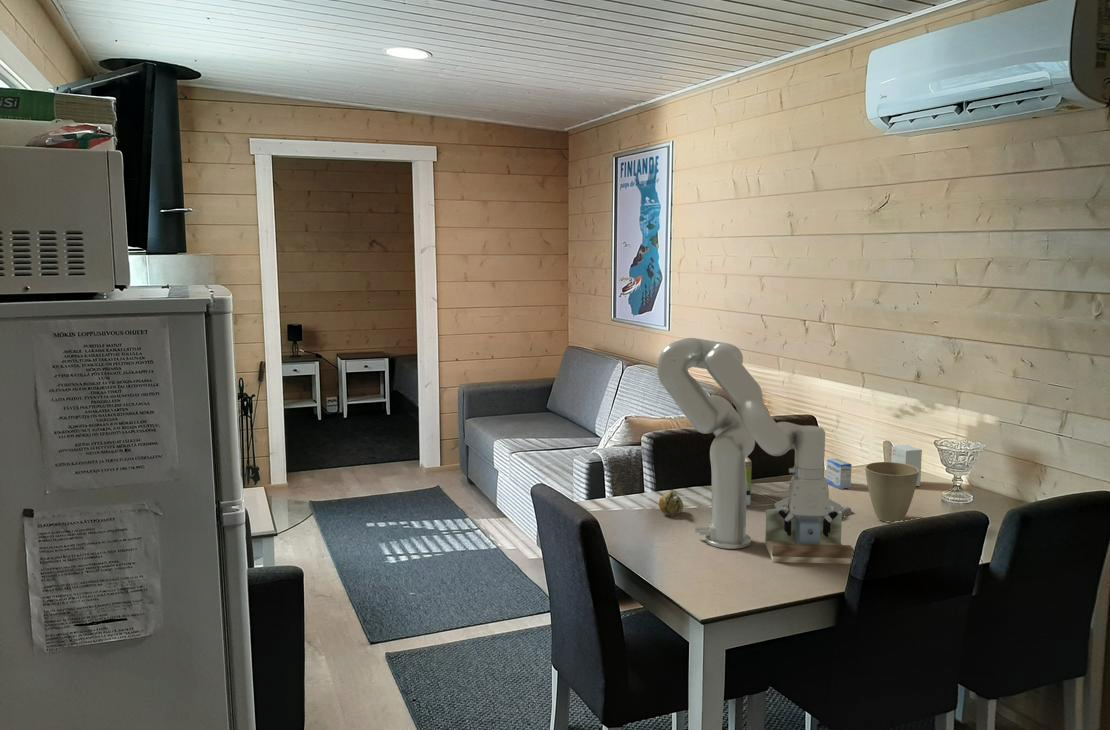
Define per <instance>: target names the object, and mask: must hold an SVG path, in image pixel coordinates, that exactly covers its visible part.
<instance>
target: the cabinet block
mask: <svg viewBox="0 0 1110 730" xmlns="http://www.w3.org/2000/svg"><path fill="white" fill-rule="evenodd" d="M795 544H818V545H820V523H819V522H818V520H817V519H816V517H815V516H796V527H795Z"/></svg>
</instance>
